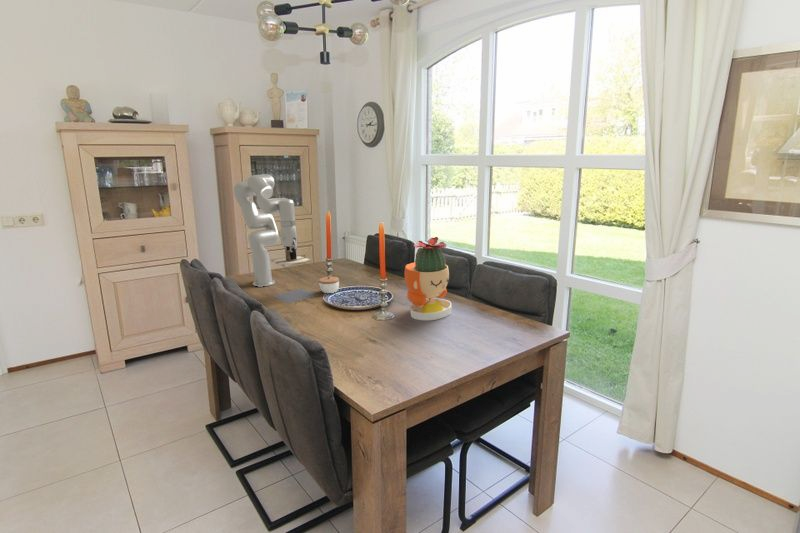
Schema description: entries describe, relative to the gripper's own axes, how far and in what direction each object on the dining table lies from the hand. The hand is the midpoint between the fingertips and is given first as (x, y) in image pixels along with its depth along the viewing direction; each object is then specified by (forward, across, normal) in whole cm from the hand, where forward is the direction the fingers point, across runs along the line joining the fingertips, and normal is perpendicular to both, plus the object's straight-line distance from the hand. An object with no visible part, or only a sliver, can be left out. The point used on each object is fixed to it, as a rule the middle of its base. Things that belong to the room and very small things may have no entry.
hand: (291, 258), depth 238 cm
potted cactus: (+20, +68, +31) cm, 78 cm away
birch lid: (+2, 0, 0) cm, 2 cm away
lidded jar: (+21, +9, +16) cm, 28 cm away
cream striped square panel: (+21, 0, 0) cm, 21 cm away
